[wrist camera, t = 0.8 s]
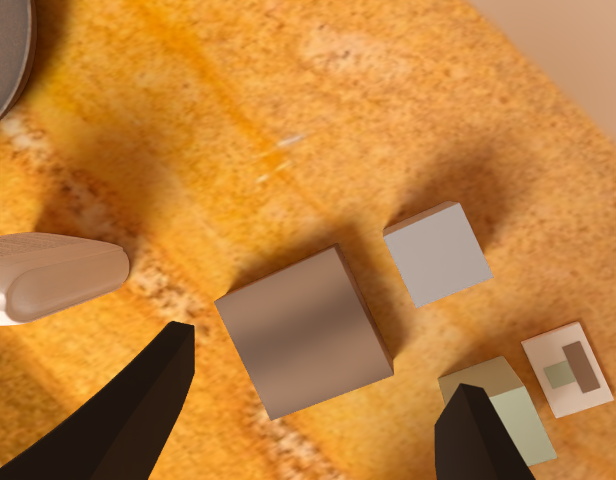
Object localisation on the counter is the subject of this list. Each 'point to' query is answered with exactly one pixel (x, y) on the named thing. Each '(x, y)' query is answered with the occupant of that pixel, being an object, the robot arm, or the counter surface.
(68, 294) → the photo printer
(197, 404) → the counter surface
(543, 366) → the card
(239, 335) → the walnut slab
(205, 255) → the counter surface
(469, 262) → the grey cube
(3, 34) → the plant saucer
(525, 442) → the sage cube
